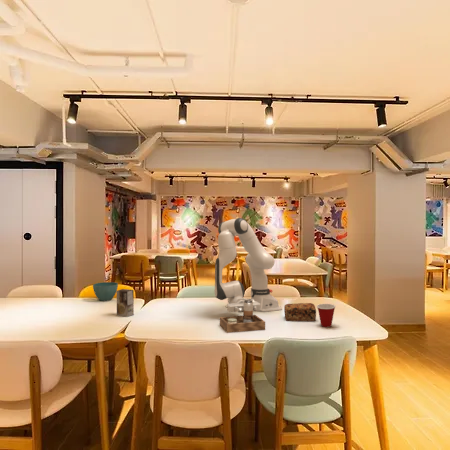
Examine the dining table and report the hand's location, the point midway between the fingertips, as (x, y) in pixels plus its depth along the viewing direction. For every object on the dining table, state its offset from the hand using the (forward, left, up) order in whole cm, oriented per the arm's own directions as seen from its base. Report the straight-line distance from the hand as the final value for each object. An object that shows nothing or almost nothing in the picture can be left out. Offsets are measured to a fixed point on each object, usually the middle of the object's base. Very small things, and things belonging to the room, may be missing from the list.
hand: (247, 309), depth 220 cm
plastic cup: (-44, +12, -9) cm, 46 cm away
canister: (0, +1, -9) cm, 9 cm away
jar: (+11, +4, -9) cm, 15 cm away
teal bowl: (+82, -95, -9) cm, 126 cm away
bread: (-36, -5, -9) cm, 38 cm away
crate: (+4, +2, -9) cm, 10 cm away
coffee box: (+68, -44, -9) cm, 82 cm away
